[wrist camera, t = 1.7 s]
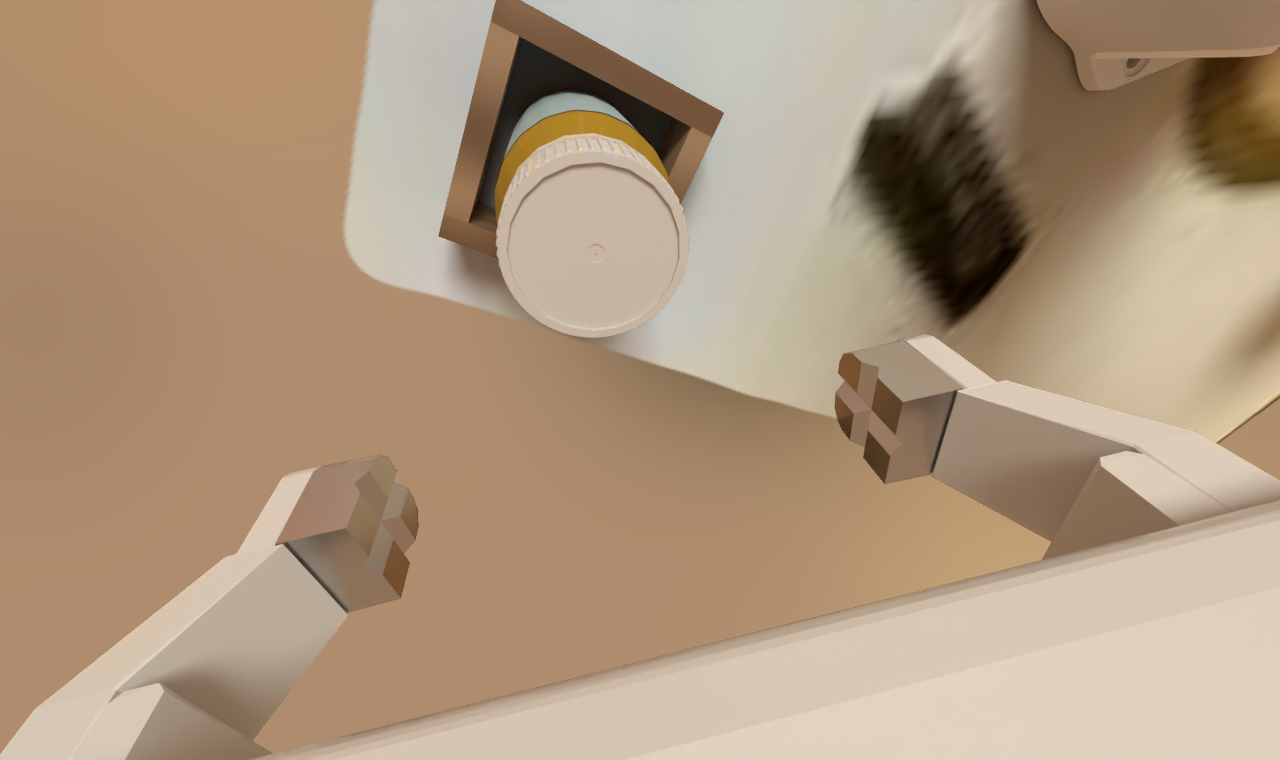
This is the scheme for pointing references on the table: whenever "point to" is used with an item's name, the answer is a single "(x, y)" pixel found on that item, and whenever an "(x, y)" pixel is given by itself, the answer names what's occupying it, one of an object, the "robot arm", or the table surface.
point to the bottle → (587, 219)
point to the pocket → (521, 20)
